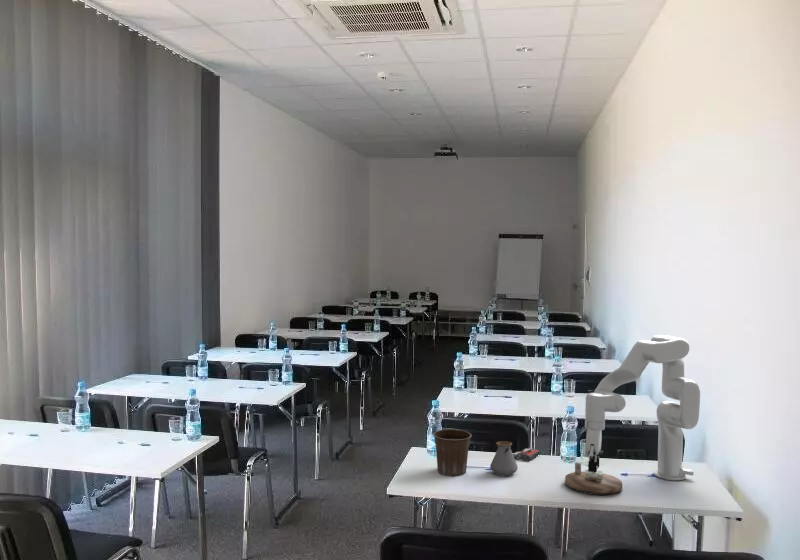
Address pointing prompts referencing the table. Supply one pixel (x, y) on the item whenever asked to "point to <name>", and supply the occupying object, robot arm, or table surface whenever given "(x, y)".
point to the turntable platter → (592, 482)
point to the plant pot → (452, 451)
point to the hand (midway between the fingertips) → (593, 469)
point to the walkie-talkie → (527, 454)
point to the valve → (594, 475)
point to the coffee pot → (504, 460)
